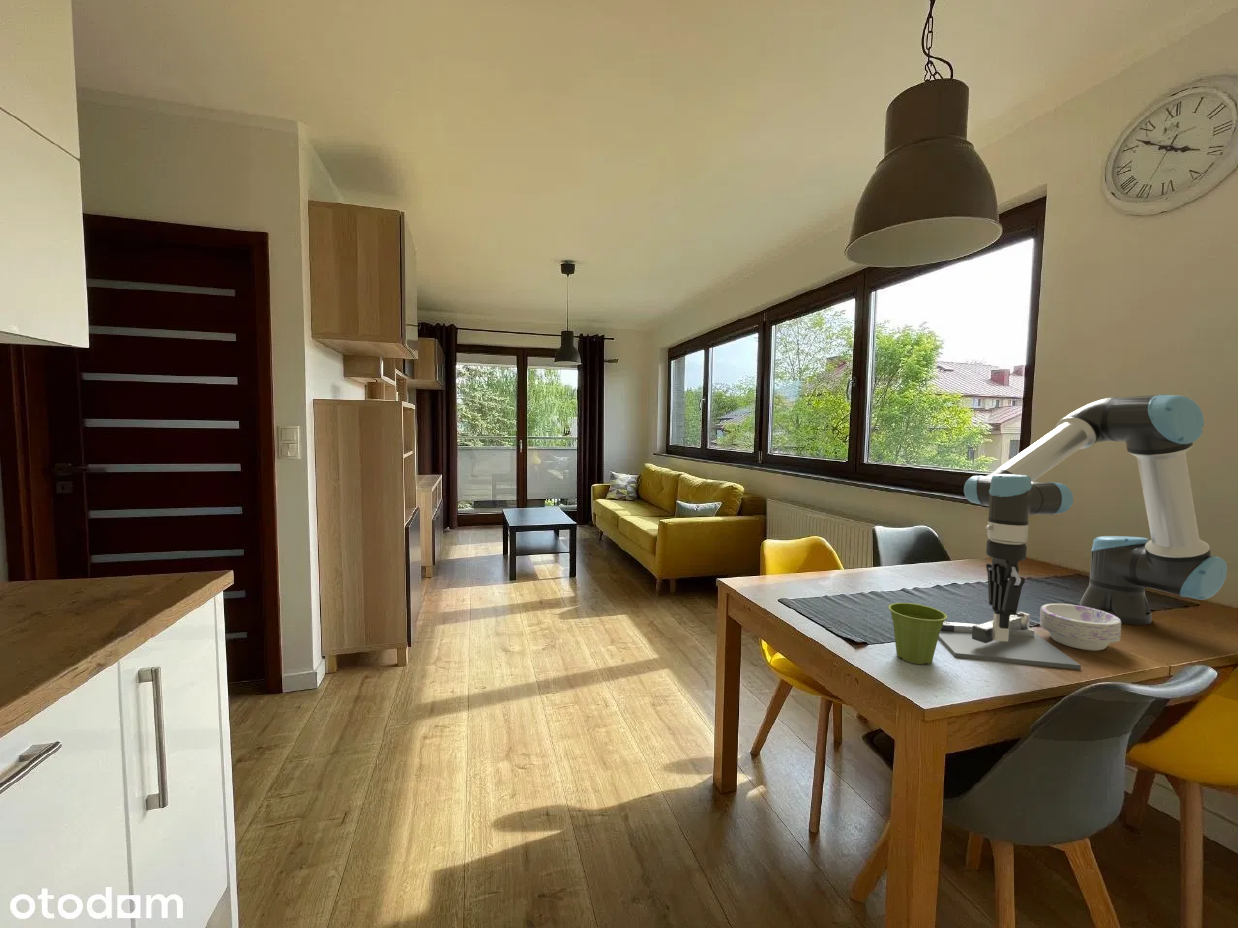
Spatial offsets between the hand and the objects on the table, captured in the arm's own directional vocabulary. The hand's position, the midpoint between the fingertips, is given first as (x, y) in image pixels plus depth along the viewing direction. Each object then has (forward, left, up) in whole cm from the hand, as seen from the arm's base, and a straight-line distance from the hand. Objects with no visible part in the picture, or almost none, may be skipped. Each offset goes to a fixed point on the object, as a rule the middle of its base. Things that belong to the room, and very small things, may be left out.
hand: (999, 639), depth 123 cm
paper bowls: (-23, -13, -4) cm, 27 cm away
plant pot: (+20, +7, -4) cm, 22 cm away
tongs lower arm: (-2, -13, -3) cm, 13 cm away
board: (-2, -7, -4) cm, 8 cm away
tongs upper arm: (-4, -8, -1) cm, 9 cm away
